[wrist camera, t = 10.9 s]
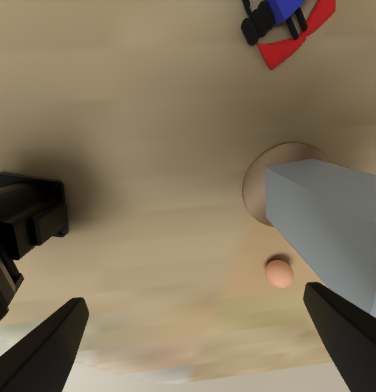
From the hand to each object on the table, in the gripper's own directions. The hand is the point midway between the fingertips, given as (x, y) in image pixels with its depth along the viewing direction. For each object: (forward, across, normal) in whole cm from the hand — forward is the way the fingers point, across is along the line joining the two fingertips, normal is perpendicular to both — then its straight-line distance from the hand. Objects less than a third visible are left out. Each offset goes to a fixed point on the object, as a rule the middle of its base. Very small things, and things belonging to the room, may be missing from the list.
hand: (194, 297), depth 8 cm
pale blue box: (+12, -10, 0) cm, 16 cm away
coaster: (+13, -10, 0) cm, 17 cm away
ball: (+13, -10, +10) cm, 19 cm away
